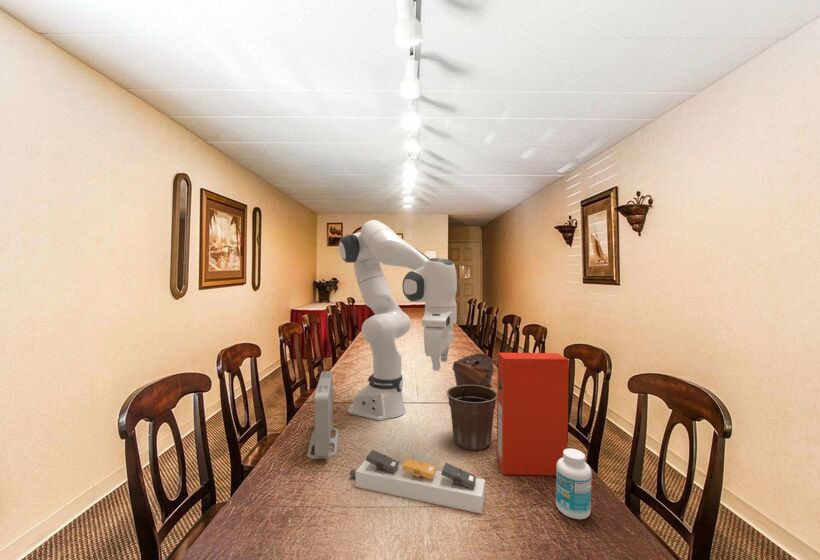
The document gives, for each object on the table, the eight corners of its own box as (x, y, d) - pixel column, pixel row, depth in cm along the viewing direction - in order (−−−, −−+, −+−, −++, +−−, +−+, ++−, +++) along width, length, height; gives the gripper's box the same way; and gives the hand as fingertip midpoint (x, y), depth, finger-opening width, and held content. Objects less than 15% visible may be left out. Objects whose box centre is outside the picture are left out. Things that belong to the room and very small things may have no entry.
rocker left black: (365, 463, 91) (366, 456, 91) (370, 456, 95) (372, 449, 95) (392, 476, 89) (394, 469, 89) (397, 468, 93) (399, 461, 92)
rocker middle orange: (401, 472, 88) (402, 464, 88) (406, 464, 92) (406, 457, 92) (432, 481, 86) (433, 474, 86) (435, 473, 89) (436, 466, 89)
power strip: (345, 484, 91) (345, 467, 91) (357, 469, 98) (357, 454, 98) (481, 513, 81) (481, 495, 81) (484, 495, 87) (485, 477, 87)
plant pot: (454, 456, 106) (454, 403, 105) (441, 431, 121) (441, 385, 121) (505, 452, 108) (506, 400, 108) (486, 428, 124) (486, 383, 124)
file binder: (496, 459, 104) (497, 352, 103) (555, 460, 104) (557, 352, 103) (503, 475, 96) (504, 359, 95) (567, 476, 96) (569, 359, 95)
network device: (336, 463, 101) (336, 394, 101) (304, 466, 100) (304, 396, 99) (339, 424, 127) (339, 369, 126) (314, 426, 125) (314, 370, 125)
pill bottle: (549, 500, 86) (550, 445, 85) (578, 498, 86) (580, 444, 86) (566, 522, 78) (567, 462, 78) (597, 520, 79) (599, 461, 78)
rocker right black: (440, 477, 85) (442, 469, 85) (443, 469, 89) (445, 462, 88) (472, 492, 83) (474, 484, 83) (474, 483, 86) (476, 475, 86)
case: (451, 404, 145) (452, 361, 145) (451, 388, 165) (452, 350, 165) (495, 407, 143) (497, 364, 143) (490, 391, 163) (491, 352, 163)
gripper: (438, 311, 109) (437, 355, 110) (419, 320, 90) (419, 374, 90) (458, 312, 107) (458, 357, 108) (444, 322, 88) (443, 376, 88)
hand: (440, 365), depth 99 cm, fingers open, 8 cm apart
